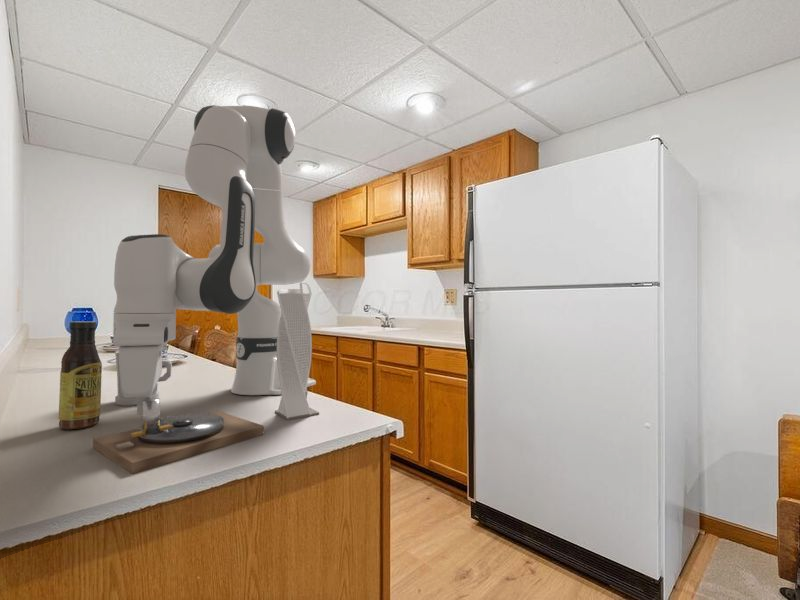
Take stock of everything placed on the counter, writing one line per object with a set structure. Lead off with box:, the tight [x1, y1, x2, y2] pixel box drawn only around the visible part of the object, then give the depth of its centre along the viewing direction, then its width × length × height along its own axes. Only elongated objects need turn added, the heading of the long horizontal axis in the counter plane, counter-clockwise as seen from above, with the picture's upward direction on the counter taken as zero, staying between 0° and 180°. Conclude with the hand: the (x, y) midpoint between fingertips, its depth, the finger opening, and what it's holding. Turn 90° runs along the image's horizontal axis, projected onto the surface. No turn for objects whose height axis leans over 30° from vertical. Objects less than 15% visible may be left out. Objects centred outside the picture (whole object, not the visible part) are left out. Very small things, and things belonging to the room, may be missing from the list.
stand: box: [92, 410, 265, 475], centre depth 70 cm, size 21×16×2 cm
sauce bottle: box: [58, 320, 103, 431], centre depth 78 cm, size 7×6×20 cm
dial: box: [130, 397, 224, 444], centre depth 69 cm, size 14×13×6 cm
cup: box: [114, 350, 173, 407], centre depth 97 cm, size 10×9×12 cm
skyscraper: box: [274, 280, 320, 421], centre depth 86 cm, size 8×8×28 cm
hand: (144, 413), depth 68 cm, fingers closed
